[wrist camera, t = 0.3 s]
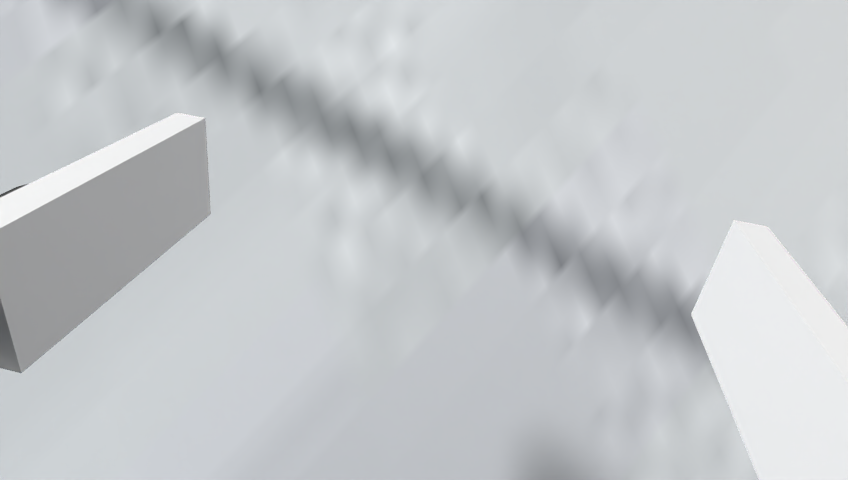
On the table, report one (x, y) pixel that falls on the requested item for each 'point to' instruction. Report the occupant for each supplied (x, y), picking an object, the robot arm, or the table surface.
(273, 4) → the table surface
